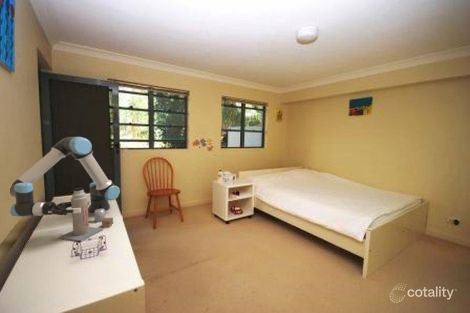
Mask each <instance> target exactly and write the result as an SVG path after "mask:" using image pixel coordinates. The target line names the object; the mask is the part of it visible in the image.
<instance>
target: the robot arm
mask: <svg viewBox="0 0 470 313" xmlns="http://www.w3.org/2000/svg"><path fill="white" fill-rule="evenodd" d="M50 148H51V149H50V151H49V152H47V154H45V155H44V156H43V157H42V158H40V159H39V160H38V161H37V162H36V163H35V164H33V166H31V167H30V168H29V169H28V170H27V171H25V172H24V173H23V174H22V175H20V176H19V178H17V179H16V180H14V181H13V182H12V183H13V184H12V186H11V188H10V194H11V196H10V197H14V198H15V203H14V204H13V205H11V207H10V210H9V213H10V215H11V216H12V217H21V218H23V217H34V216H38V217H41V216H52V215H56V216H67V215H68V214H72V213H81V208H72V206H71V201H66V202H60V203H57V204H56V203H55V202H54V201H47V202H46V201H45V202H43V201H42V202H35V199H34V198H35V197H34V186H33V184H34V183H36V181H38V180H39V179H40V178H41V177H42V176H44V174H46V173H47V172H48V171H49V170H50V169H51V168H52V167H54V166H55V165H56V164H57V163H58V162H59V161H60V160H61V159H64V158H66V157H67V156H69V155H71V156H72V157H73V158H74V160H77V161H79V162H80V164H81V165H82V167H83V168H84V169H85V171H86V172H87V174H88V175H89V177H90V178H91V179H92V181H93V182H91V183H89V195H90V196H89V197H90V199H89V200H87V203H88V213H95V210H96V209H104V210H105V211H108V210H109V209H111V205H110V203H109V201H115V200H116V199H118V197H119V195H120V193H121V189H120V187H119V186H118V185H115V184H114V182H113V181H112V180H111V179H108V177H107V176H106V173H105V172H104V171H103V169H102V168H101V166H100V165H99V163H98V161H97V160H96V159H95V157H94V155H93V153H94V150H92V148H93V145H92V143H91V141H90V140H89V139H87V138H86V137H82V136H67V137H65V138H62V139H61V140H60V141H58V142H57V143H56V144H54V146H52V147H50Z"/></svg>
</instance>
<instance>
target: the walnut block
mask: <svg viewBox="0 0 470 313" xmlns="http://www.w3.org/2000/svg"><path fill="white" fill-rule="evenodd" d="M112 224H113V225H114V217H105V218H104V219H103V220H102V222H101V228H103V229H104V227H107V228H111V227H112V226H113V225H112Z"/></svg>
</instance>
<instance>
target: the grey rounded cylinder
mask: <svg viewBox="0 0 470 313" xmlns="http://www.w3.org/2000/svg"><path fill="white" fill-rule="evenodd" d="M105 213H106V212H105V210H104V209H96V210H95V212H94V222H95V223H102V220H103V219H104V218H106V214H105Z"/></svg>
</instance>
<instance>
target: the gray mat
mask: <svg viewBox="0 0 470 313" xmlns="http://www.w3.org/2000/svg"><path fill="white" fill-rule="evenodd" d="M102 231H104V228H102V227H94V226H89V232H88V233H86V234H83V235H74V234H73V230H71V231H69V232H66V233H64V234H62V235H59V236H58V239H59V240H66V241H73V242H78V241H82V240H83V241H85V240H87V239H89V238H91V237H92V236H94V235H97V234H99V233H101V232H102ZM83 241H82V242H83Z"/></svg>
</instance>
